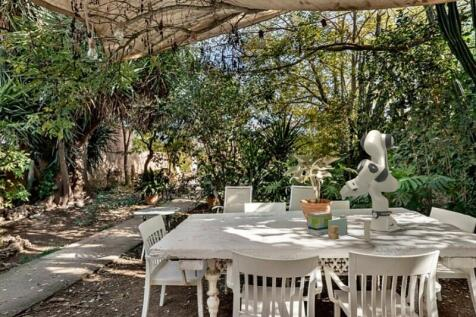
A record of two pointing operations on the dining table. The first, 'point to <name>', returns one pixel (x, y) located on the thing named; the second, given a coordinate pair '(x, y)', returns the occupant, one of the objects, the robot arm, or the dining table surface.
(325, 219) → the tea box
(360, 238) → the threshold
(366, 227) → the jamb
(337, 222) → the door
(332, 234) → the doorstop
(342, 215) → the hinge wall
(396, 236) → the dining table surface
